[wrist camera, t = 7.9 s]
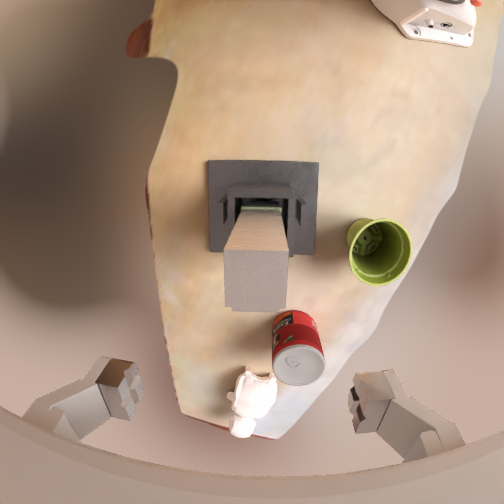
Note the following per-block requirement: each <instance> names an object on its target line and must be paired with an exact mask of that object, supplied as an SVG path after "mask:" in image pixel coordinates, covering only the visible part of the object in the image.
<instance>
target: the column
mask: <svg viewBox="0 0 504 504" xmlns="http://www.w3.org/2000/svg"><path fill="white" fill-rule="evenodd" d="M288 258H289V249H288V244H287V240H286V235H285V230H284V226H283V221H282V216H281V206H279V203H278V201H246V202H245V204H244V205H242V207H241V213H240V215H239V217H238V219H237V222H236V224H235V226H234V228H233V230H232V232H231V235H230V237H229V239H228V241H227V243H226V245H225V248H224V286H225V307H232V311H242V312H273V313H279V309H285V307H286V292H287V276H288Z"/></svg>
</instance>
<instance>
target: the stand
mask: <svg viewBox="0 0 504 504" xmlns="http://www.w3.org/2000/svg"><path fill="white" fill-rule="evenodd" d="M318 171H319V163H316V162H296V161H266V160H209V161H208V173H209V232H210V252H224V248H225V245H226V243H227V241H228V239H229V237H230V235H231V232H232V230H233V228H234V226H235V224H236V222H237V219H238V217H239V215H240V213H241V207H242V205H244V204H245V202H246V201H278V203H279V206H281V216H282V221H283V226H284V230H285V235H286V240H287V244H288V249H289V257H293V254H307V255H314V244H315V229H316V213H317V195H318Z"/></svg>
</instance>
